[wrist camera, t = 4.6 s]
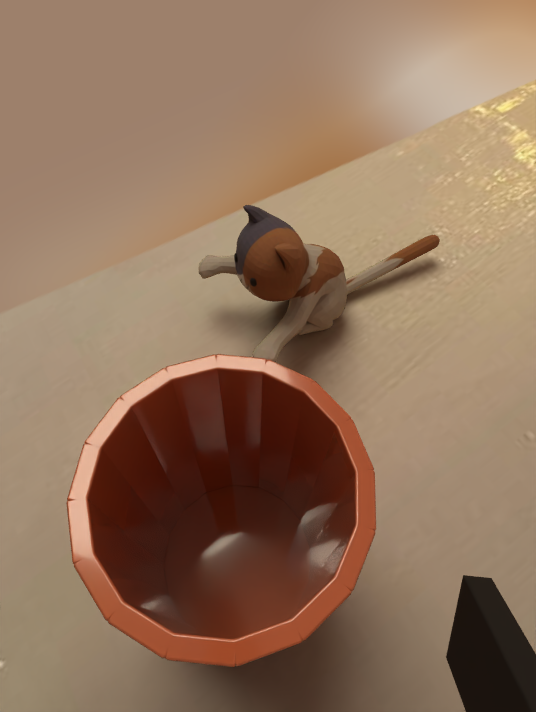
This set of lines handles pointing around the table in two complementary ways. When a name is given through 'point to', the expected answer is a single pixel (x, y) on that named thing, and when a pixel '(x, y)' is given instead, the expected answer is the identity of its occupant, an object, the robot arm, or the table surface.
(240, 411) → the cup
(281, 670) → the table surface
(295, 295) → the toy
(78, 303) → the table surface
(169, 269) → the table surface
